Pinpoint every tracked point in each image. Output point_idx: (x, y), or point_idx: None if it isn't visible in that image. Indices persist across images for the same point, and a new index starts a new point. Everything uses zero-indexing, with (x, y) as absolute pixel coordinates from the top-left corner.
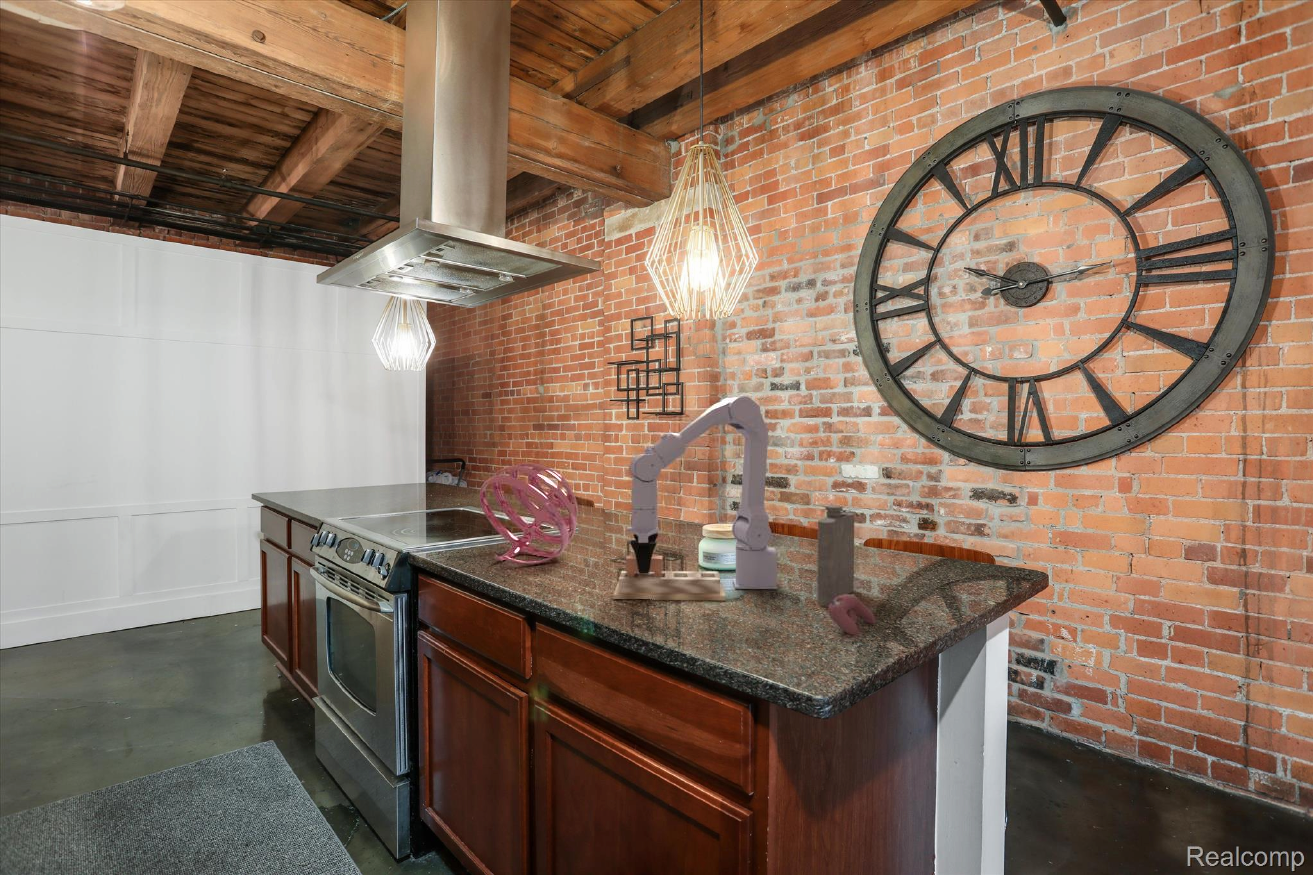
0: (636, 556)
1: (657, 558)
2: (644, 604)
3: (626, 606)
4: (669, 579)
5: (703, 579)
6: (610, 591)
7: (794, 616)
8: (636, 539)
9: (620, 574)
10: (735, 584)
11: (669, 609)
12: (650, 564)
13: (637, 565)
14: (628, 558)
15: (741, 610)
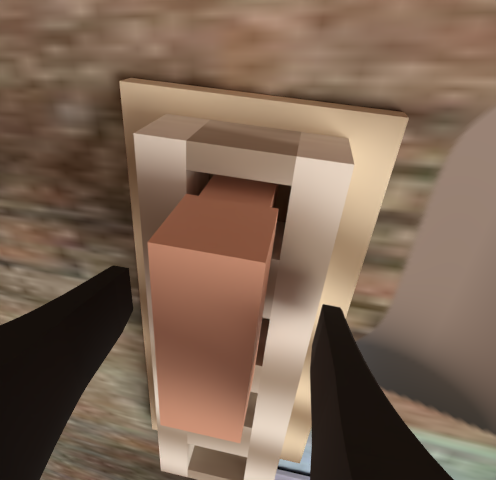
0: (8, 324)
1: (166, 409)
2: (84, 211)
3: (43, 137)
4: (152, 357)
5: (159, 440)
6: (290, 60)
7: (63, 469)
8: (342, 466)
9: (249, 150)
10: (289, 478)
11: (47, 279)
12: (106, 351)
13: (80, 285)
14: (155, 260)
15: (80, 417)
